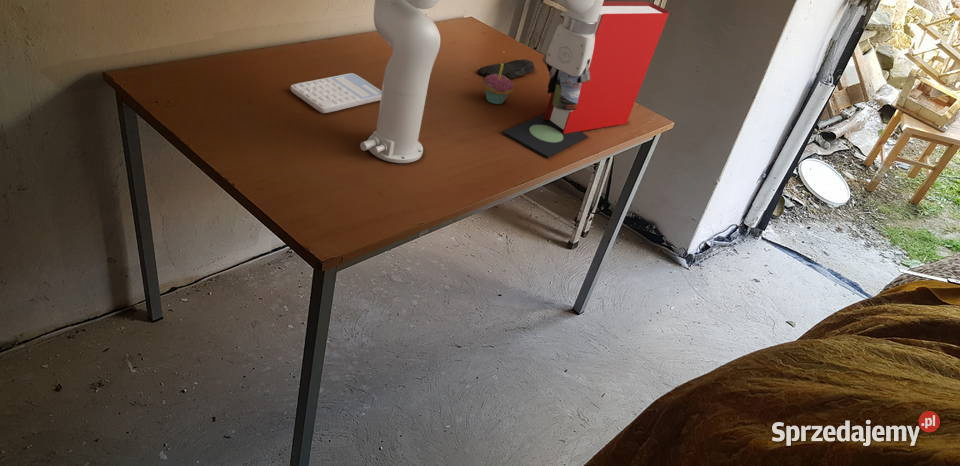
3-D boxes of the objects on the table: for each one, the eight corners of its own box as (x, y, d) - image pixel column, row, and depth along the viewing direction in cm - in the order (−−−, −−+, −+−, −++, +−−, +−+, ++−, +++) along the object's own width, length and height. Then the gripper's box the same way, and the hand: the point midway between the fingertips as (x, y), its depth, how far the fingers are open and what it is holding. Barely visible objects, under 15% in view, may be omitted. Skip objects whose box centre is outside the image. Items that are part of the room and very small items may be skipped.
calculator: (288, 90, 171) (288, 83, 170) (352, 77, 184) (353, 71, 183) (322, 115, 165) (322, 107, 164) (386, 99, 178) (387, 92, 177)
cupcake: (506, 110, 189) (517, 68, 182) (476, 101, 189) (485, 59, 182) (511, 98, 196) (522, 58, 189) (482, 90, 196) (491, 49, 189)
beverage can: (563, 117, 172) (577, 71, 165) (543, 103, 176) (556, 58, 169) (580, 113, 176) (595, 69, 169) (560, 100, 180) (573, 56, 173)
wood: (492, 83, 201) (494, 73, 199) (475, 72, 205) (477, 62, 203) (543, 74, 215) (546, 65, 214) (526, 64, 219) (529, 55, 218)
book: (563, 133, 183) (603, 13, 165) (543, 119, 187) (580, 1, 170) (629, 123, 200) (672, 13, 182) (609, 110, 204) (649, 1, 187)
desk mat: (547, 158, 171) (548, 156, 171) (502, 133, 177) (502, 131, 177) (587, 137, 186) (587, 135, 185) (544, 115, 191) (545, 112, 191)
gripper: (542, 13, 165) (523, 85, 176) (601, 40, 159) (578, 113, 169) (558, 9, 171) (539, 79, 181) (616, 35, 164) (593, 106, 174)
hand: (558, 94), depth 175 cm, fingers closed on beverage can, 3 cm apart
